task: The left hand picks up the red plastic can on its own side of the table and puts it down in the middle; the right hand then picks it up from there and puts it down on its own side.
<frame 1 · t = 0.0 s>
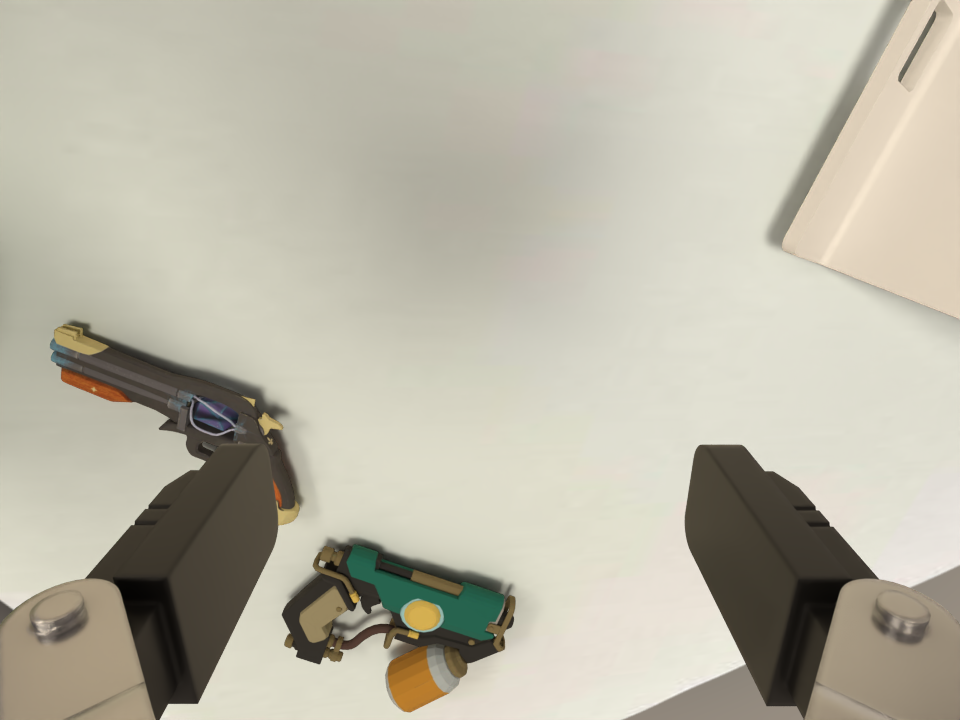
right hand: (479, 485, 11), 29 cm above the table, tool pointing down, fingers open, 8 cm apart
spray gun: (398, 604, 50), on the table
toy gun: (190, 422, 44), on the table
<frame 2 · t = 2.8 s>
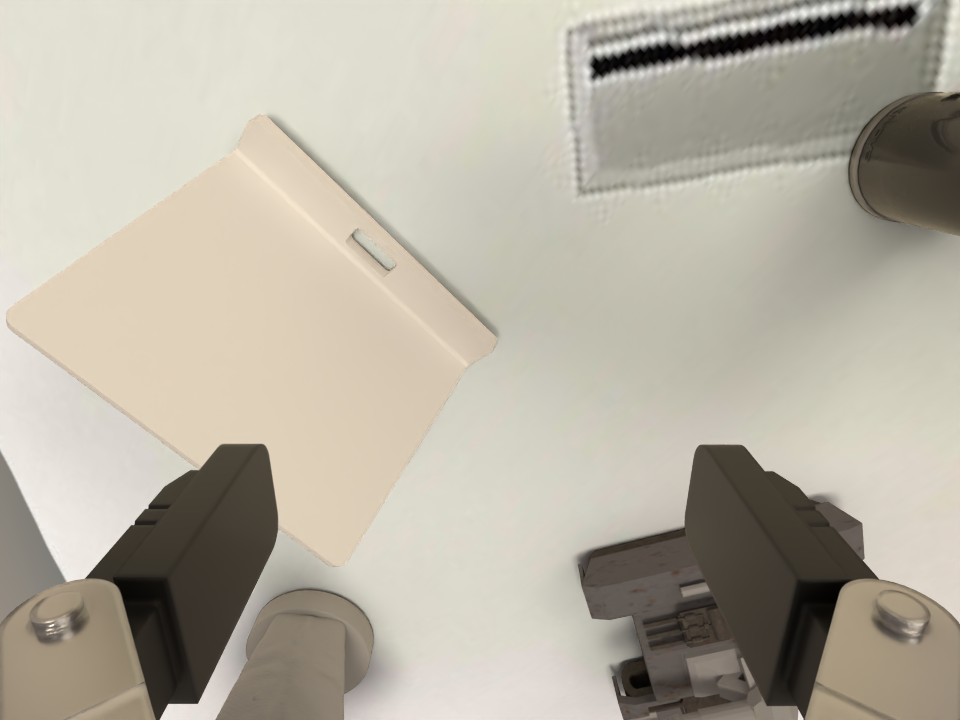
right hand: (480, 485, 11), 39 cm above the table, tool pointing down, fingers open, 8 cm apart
toy: (714, 596, 62), on the table
tablet stand: (322, 304, 51), on the table
bust sculpture: (302, 607, 63), on the table
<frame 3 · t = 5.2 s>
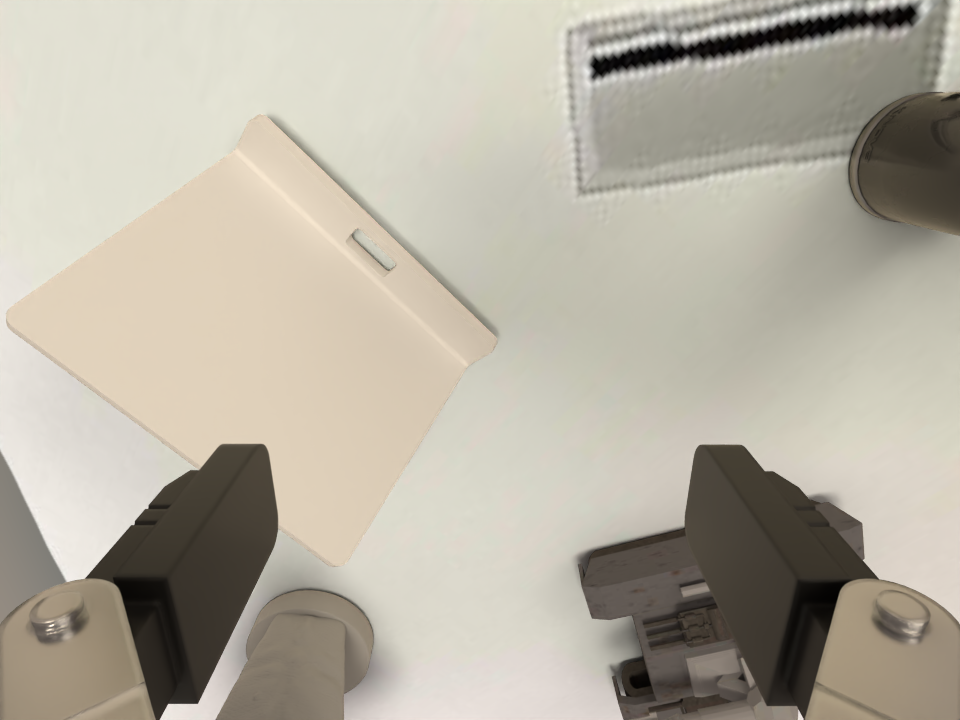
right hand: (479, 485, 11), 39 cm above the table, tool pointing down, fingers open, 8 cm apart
toy: (714, 596, 62), on the table
tablet stand: (322, 304, 51), on the table
bust sculpture: (302, 607, 63), on the table
when the left hand's fingers open (2 cm above the table, at t = 7.7 s): can stays where it is, on the table.
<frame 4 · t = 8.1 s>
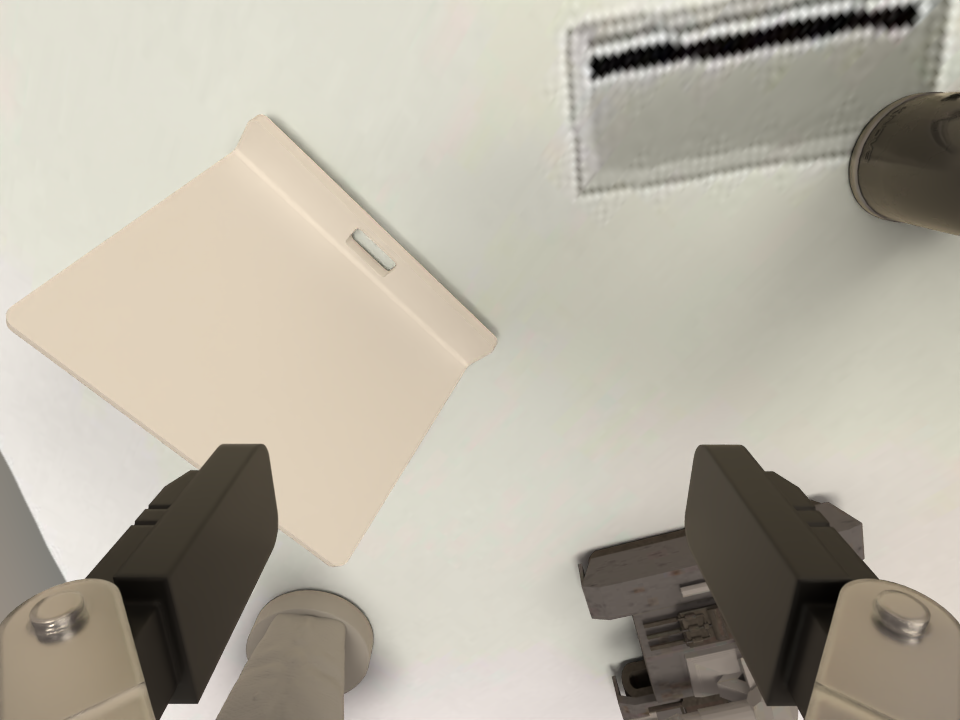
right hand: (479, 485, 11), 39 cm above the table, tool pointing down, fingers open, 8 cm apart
toy: (714, 596, 62), on the table
tablet stand: (322, 304, 51), on the table
bust sculpture: (302, 607, 63), on the table
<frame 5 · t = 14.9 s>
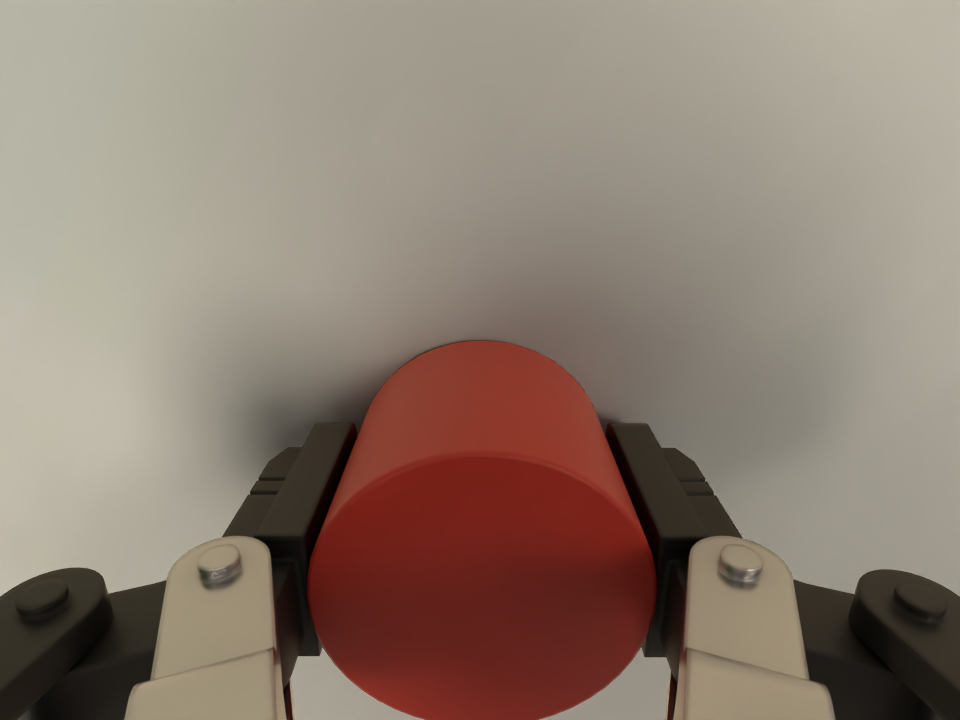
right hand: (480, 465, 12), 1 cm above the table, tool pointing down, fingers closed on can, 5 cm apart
can: (481, 451, 12), on the table, touching right hand
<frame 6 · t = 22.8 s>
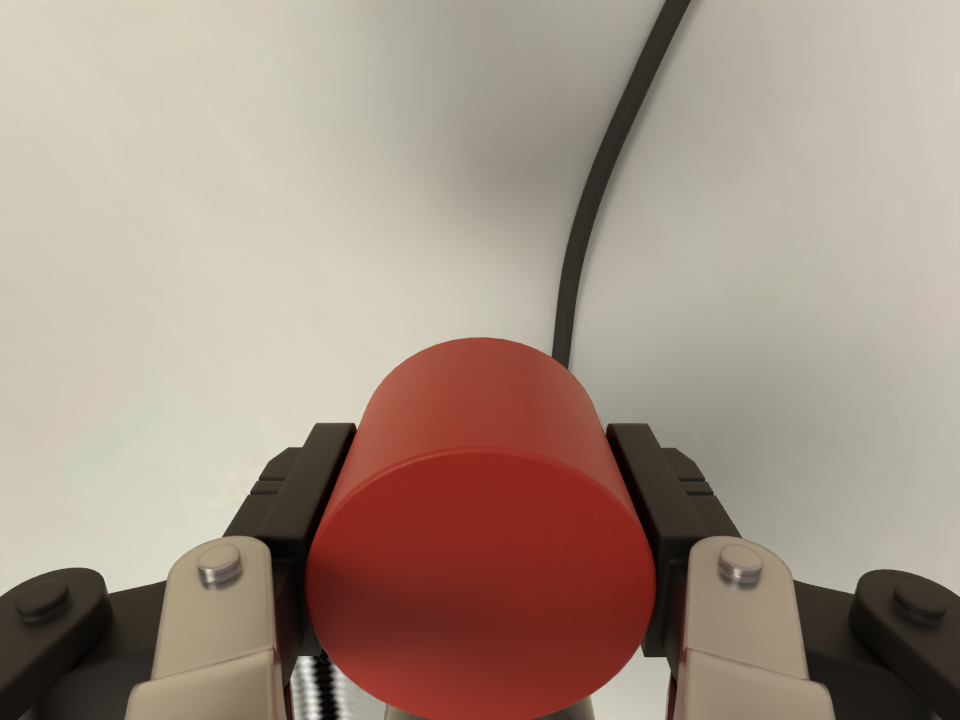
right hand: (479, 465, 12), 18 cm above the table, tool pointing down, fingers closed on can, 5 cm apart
can: (480, 449, 12), point 18 cm above the table, touching right hand
when the right hand's fingers open (1 cm above the table, at t = 31.0 s): can stays where it is, on the table.
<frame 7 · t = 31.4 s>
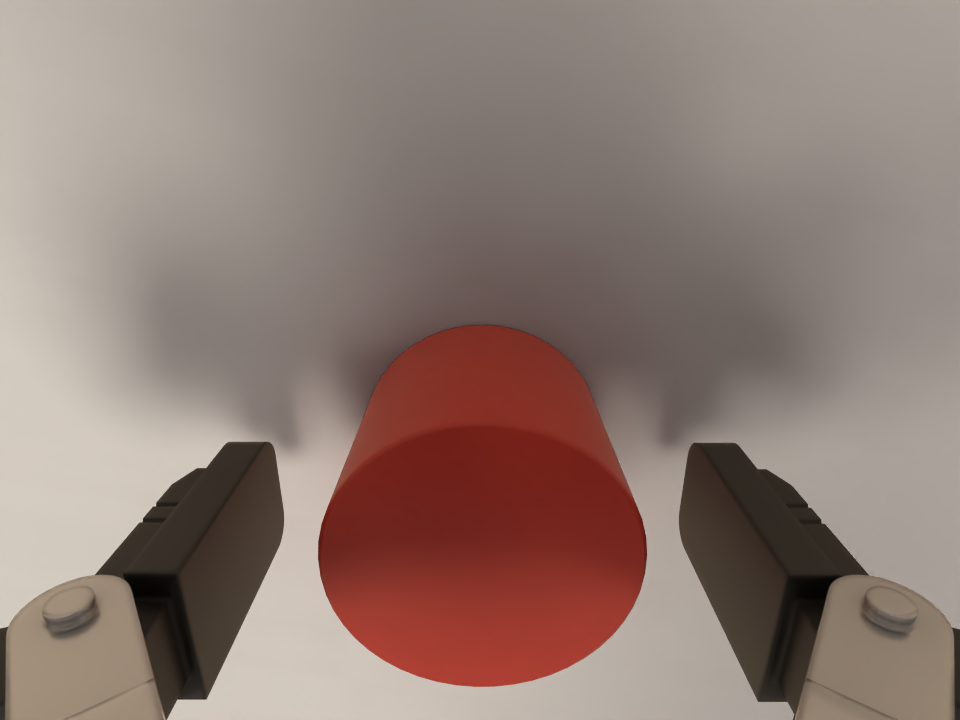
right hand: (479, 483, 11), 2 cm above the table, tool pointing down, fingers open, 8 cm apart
can: (481, 432, 13), on the table
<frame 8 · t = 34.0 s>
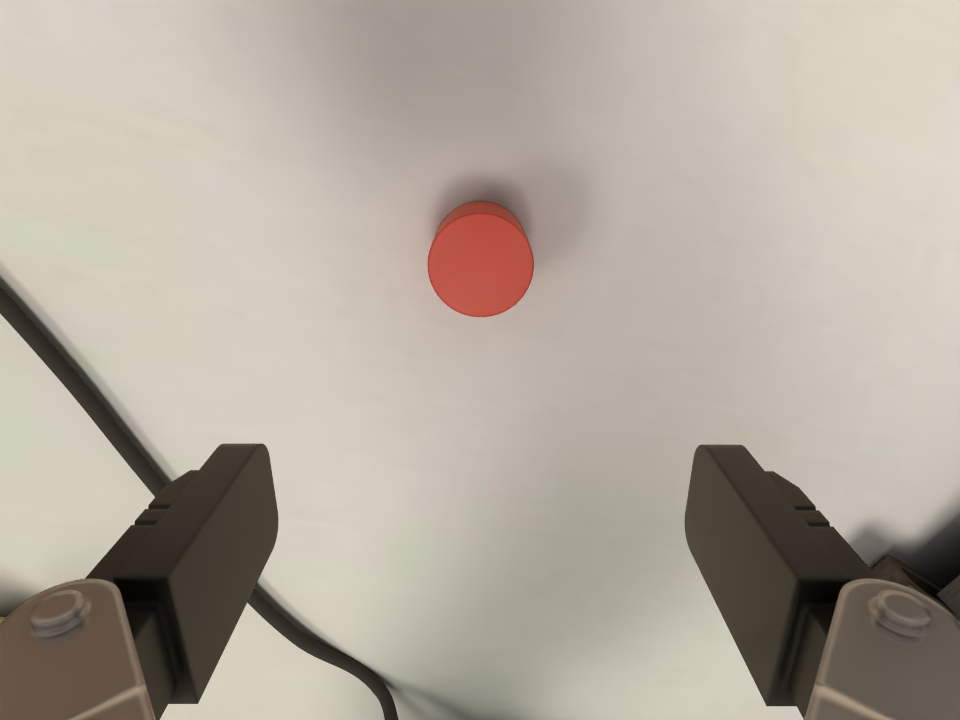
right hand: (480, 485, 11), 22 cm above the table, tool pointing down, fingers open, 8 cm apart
can: (480, 248, 32), on the table
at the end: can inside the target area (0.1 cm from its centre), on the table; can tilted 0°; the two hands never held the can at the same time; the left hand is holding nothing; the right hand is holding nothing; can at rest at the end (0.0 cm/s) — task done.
